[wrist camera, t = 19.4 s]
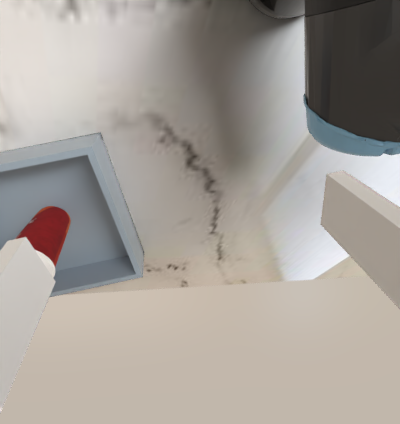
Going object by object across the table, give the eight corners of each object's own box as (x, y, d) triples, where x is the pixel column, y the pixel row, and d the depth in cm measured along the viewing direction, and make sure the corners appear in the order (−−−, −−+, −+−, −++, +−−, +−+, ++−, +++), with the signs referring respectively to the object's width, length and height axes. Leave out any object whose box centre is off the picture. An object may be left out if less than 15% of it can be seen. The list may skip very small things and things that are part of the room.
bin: (100, 132, 42) (91, 146, 36) (144, 252, 56) (142, 276, 50) (-65, 164, 41) (-101, 184, 35) (22, 279, 55) (6, 306, 49)
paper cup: (24, 202, 45) (-21, 256, 34) (71, 199, 46) (43, 251, 35) (38, 238, 50) (2, 297, 38) (81, 234, 50) (59, 292, 39)
